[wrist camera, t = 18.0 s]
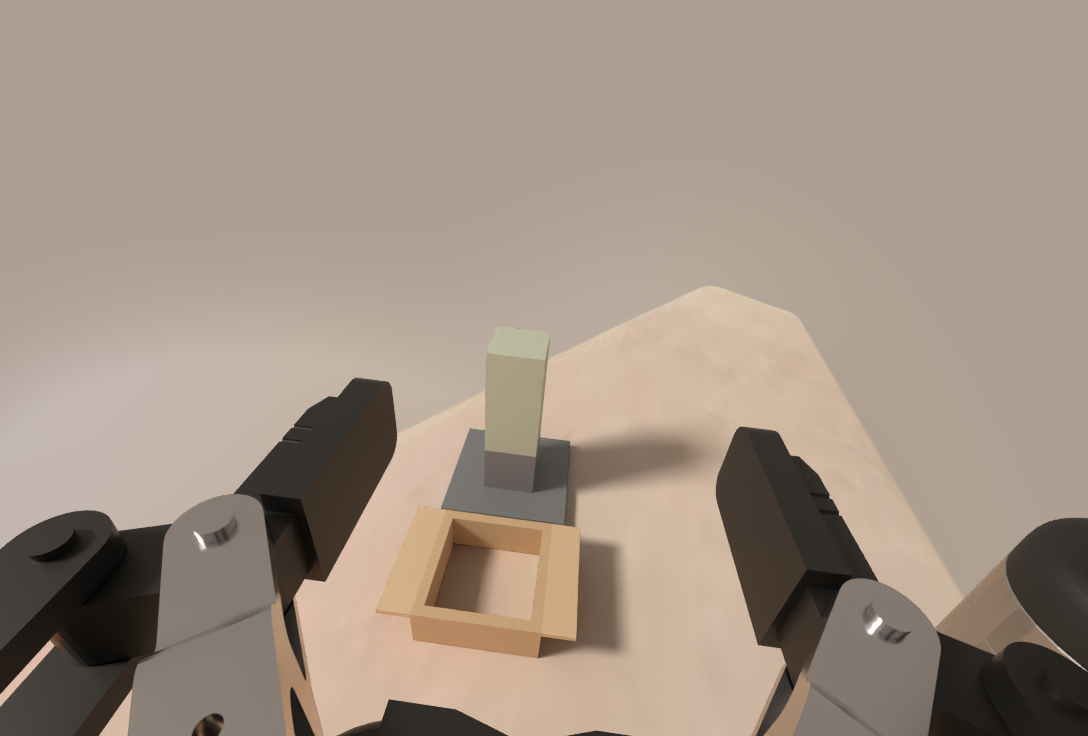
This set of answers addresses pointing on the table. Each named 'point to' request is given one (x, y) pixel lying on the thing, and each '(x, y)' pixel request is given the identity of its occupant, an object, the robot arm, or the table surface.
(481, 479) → the slate mat
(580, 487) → the table surface
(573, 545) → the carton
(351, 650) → the table surface
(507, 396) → the box
